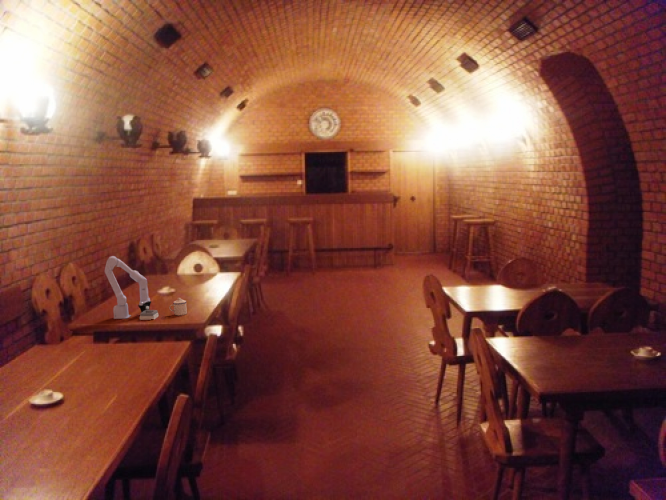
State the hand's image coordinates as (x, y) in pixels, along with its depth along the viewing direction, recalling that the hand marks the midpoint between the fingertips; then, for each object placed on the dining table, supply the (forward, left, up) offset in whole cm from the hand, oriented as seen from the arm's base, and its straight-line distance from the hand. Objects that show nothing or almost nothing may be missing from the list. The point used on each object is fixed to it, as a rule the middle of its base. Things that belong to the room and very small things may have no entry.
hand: (145, 312), depth 422 cm
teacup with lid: (+24, 0, -2) cm, 24 cm away
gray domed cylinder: (0, 0, -2) cm, 2 cm away
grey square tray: (+6, -9, -1) cm, 11 cm away
